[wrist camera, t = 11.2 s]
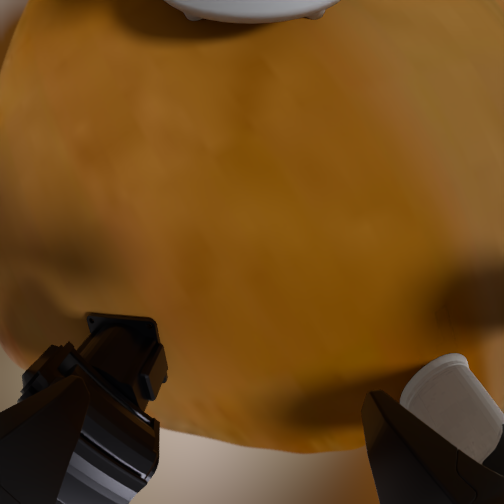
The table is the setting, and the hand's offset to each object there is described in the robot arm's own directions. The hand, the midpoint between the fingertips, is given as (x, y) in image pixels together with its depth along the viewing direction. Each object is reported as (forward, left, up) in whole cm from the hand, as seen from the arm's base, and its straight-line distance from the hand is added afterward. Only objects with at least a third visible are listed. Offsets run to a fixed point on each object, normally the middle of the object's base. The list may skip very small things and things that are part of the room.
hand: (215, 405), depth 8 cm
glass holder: (+22, -16, -13) cm, 30 cm away
